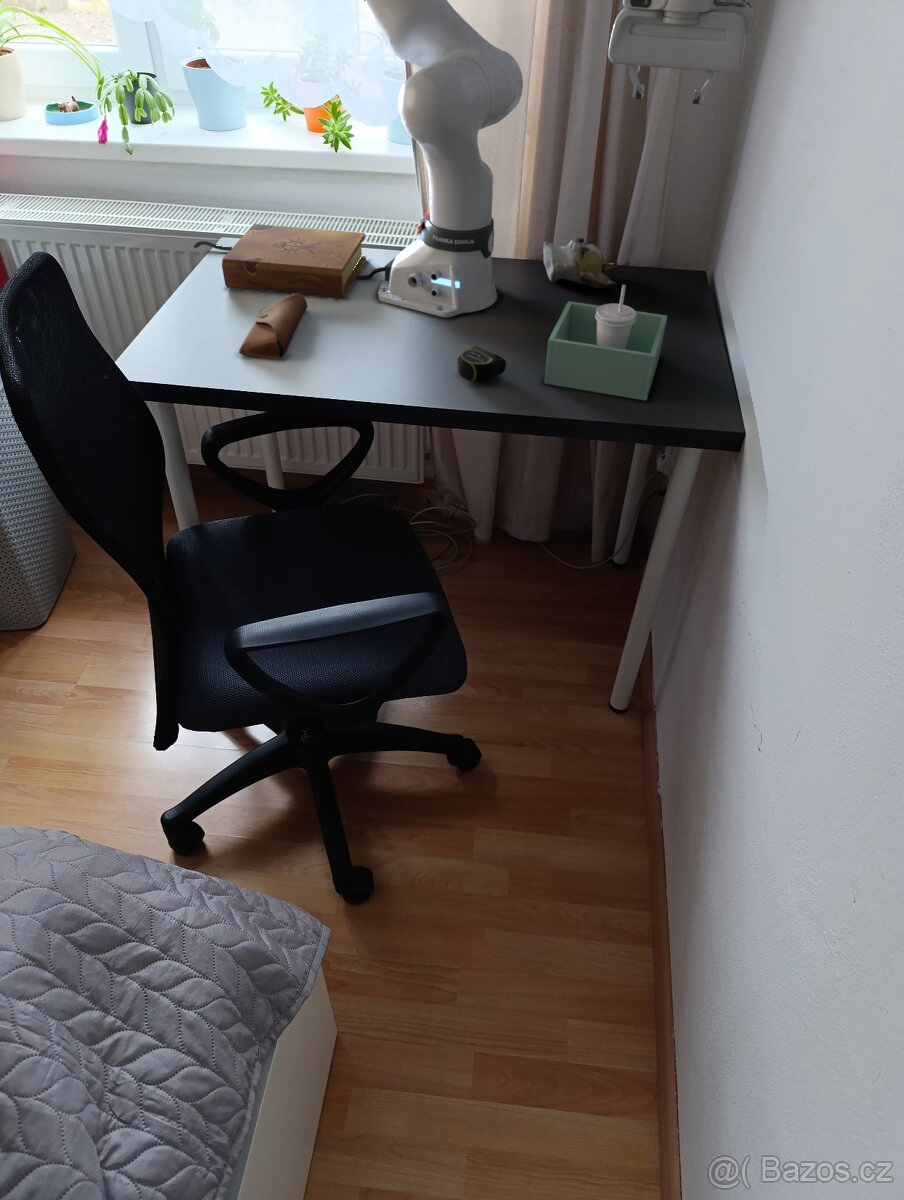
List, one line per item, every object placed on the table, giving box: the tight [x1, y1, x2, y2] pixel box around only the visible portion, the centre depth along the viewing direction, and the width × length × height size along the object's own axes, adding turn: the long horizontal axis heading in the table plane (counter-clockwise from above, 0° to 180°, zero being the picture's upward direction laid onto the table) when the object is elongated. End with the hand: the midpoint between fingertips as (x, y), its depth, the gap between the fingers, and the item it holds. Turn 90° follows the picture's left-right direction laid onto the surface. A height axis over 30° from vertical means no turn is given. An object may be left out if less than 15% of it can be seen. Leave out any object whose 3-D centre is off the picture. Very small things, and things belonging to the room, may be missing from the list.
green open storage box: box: [544, 300, 668, 401], centre depth 136 cm, size 17×15×8 cm
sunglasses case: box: [238, 293, 308, 361], centre depth 145 cm, size 18×7×7 cm, turn 175°
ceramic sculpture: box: [542, 237, 619, 289], centre depth 160 cm, size 11×9×15 cm
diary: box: [221, 223, 367, 299], centre depth 162 cm, size 23×19×6 cm
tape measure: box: [457, 345, 507, 384], centre depth 135 cm, size 7×7×4 cm
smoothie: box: [595, 284, 636, 349], centre depth 133 cm, size 6×6×14 cm
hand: (667, 100), depth 131 cm, fingers open, 8 cm apart
